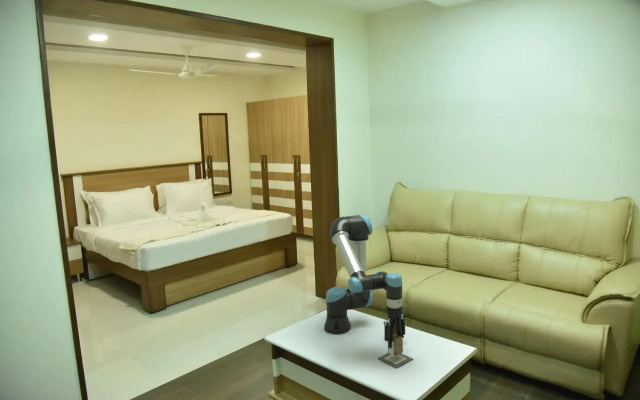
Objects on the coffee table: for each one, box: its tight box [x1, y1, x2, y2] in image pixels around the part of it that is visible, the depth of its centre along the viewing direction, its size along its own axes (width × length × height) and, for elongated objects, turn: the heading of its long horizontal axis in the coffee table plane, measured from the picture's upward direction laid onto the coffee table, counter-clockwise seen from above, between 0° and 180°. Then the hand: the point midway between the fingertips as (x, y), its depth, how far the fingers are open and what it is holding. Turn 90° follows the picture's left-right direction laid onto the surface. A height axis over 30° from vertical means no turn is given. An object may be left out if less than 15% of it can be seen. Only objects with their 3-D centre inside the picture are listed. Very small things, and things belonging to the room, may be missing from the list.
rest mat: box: [377, 352, 414, 369], centre depth 215 cm, size 12×12×1 cm
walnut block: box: [387, 334, 404, 356], centre depth 214 cm, size 5×5×8 cm
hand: (395, 351), depth 214 cm, fingers closed on walnut block, 5 cm apart
